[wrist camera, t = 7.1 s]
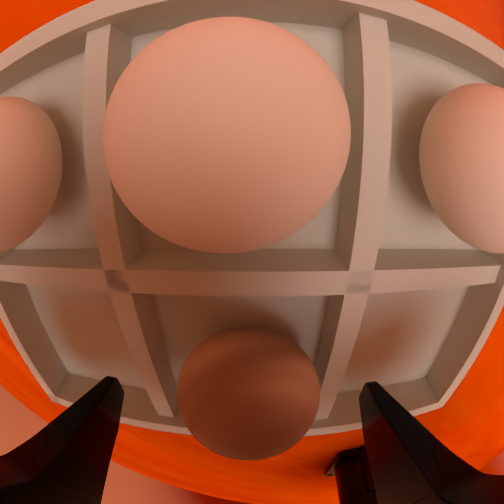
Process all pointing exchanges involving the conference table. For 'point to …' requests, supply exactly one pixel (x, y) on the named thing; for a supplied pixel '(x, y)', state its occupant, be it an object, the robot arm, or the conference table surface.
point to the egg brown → (248, 393)
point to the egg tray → (267, 258)
